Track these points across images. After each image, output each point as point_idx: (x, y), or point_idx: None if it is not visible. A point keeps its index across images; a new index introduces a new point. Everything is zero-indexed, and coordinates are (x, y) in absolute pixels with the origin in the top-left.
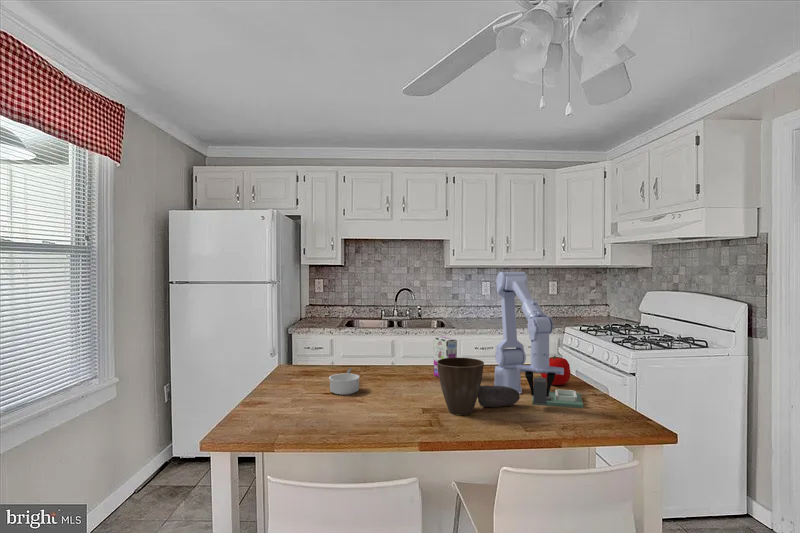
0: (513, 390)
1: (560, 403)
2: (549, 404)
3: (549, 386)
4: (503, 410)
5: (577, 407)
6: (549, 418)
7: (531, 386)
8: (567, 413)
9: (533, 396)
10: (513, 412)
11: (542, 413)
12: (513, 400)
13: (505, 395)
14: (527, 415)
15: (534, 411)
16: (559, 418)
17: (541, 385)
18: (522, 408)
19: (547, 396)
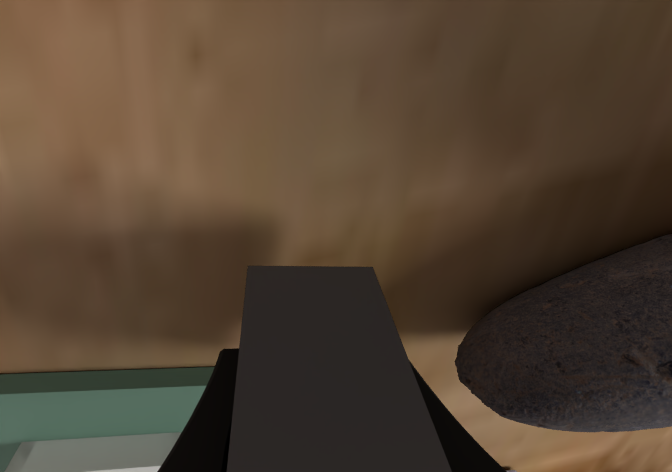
0: (555, 397)
1: (142, 386)
2: None
3: (184, 463)
4: (587, 197)
5: (13, 374)
6: (225, 39)
7: (442, 427)
8: (65, 229)
9: None
10: (527, 163)
11: (289, 185)
12: (510, 321)
13: (620, 321)
14: (430, 101)
15: (351, 222)
16: (118, 58)
17: (315, 446)
18: (431, 270)
19: (233, 350)
